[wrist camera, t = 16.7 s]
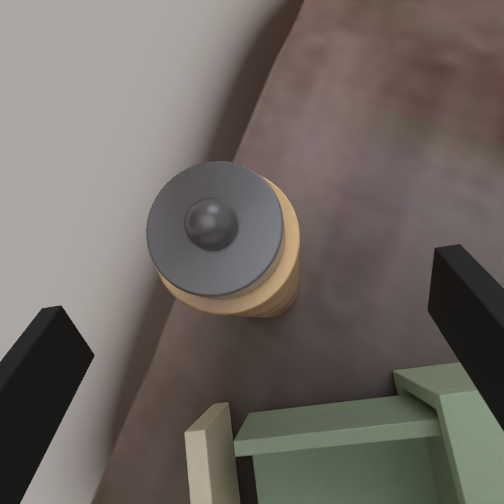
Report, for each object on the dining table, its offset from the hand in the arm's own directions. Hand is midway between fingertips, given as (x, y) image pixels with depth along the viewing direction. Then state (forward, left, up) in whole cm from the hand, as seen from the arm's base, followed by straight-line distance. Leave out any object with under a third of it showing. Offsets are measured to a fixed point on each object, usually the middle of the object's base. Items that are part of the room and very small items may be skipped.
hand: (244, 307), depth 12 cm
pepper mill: (0, -2, -15) cm, 15 cm away
